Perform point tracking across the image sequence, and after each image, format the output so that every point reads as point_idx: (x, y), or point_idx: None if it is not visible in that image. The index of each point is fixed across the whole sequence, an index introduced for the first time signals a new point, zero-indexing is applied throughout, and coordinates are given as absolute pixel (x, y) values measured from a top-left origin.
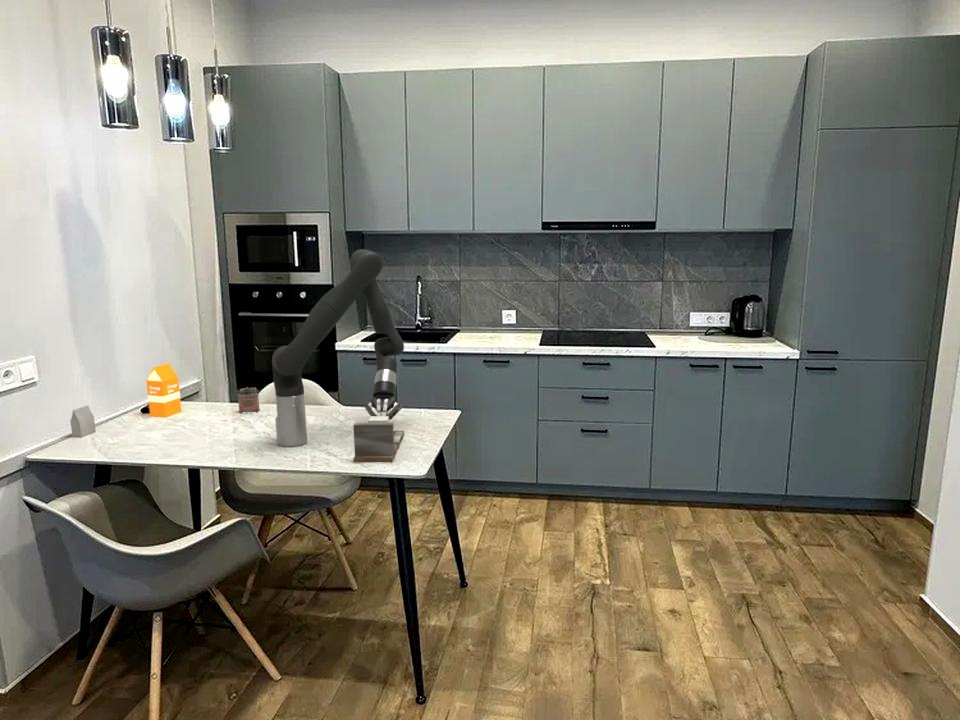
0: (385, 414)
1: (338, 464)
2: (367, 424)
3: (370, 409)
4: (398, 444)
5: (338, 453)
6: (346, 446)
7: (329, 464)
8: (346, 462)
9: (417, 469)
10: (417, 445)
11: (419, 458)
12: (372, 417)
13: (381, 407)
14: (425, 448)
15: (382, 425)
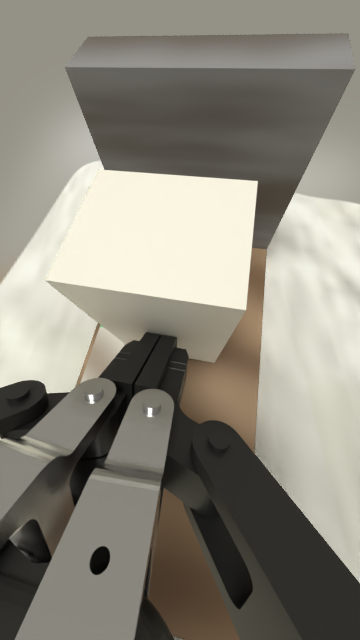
0: (59, 407)
1: (311, 212)
2: (244, 41)
3: (307, 600)
4: (98, 325)
5: (346, 311)
6: (339, 402)
7: (342, 215)
8: (288, 224)
9: (91, 164)
10: (26, 350)
11: (63, 226)
12: (222, 263)
13: (20, 617)
14: (12, 309)
15: (144, 40)
